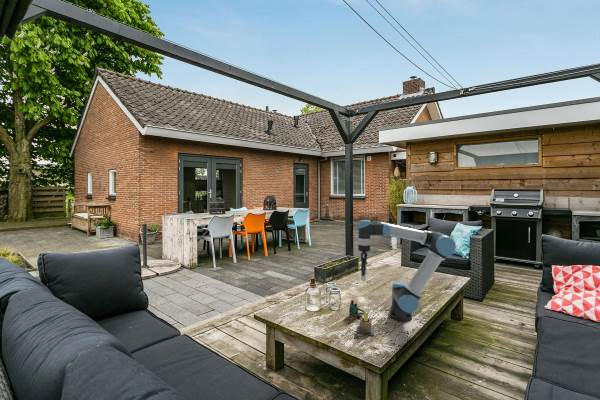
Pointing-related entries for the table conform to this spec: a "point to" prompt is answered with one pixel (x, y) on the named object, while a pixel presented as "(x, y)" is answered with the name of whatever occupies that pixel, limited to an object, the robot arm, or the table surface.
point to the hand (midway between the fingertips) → (363, 277)
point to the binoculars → (354, 310)
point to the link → (365, 325)
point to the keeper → (366, 321)
